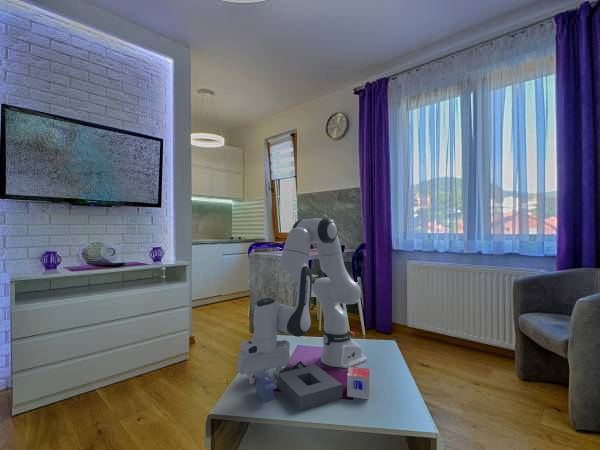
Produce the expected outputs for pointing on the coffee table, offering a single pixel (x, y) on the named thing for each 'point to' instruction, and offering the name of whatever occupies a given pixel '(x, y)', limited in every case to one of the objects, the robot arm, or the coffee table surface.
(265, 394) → the block
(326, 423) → the coffee table surface
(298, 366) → the calculator
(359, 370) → the white red cube carton
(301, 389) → the plate
